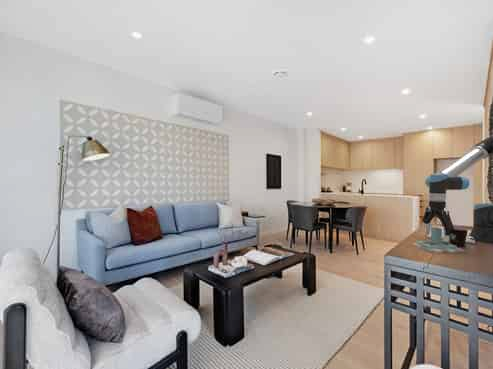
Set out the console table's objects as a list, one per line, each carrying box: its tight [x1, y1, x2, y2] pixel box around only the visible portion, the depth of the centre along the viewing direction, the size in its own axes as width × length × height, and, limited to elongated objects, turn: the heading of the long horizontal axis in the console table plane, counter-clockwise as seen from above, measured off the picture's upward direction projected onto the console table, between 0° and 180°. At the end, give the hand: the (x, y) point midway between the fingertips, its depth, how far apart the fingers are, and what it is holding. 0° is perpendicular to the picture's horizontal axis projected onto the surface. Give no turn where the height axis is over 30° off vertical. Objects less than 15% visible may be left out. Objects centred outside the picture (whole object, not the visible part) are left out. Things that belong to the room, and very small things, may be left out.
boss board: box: [412, 240, 465, 254], centre depth 135 cm, size 18×14×4 cm
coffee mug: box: [449, 226, 469, 248], centre depth 142 cm, size 12×9×10 cm
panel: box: [416, 226, 458, 249], centre depth 136 cm, size 15×10×10 cm, turn 89°
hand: (436, 237), depth 136 cm, fingers open, 13 cm apart
